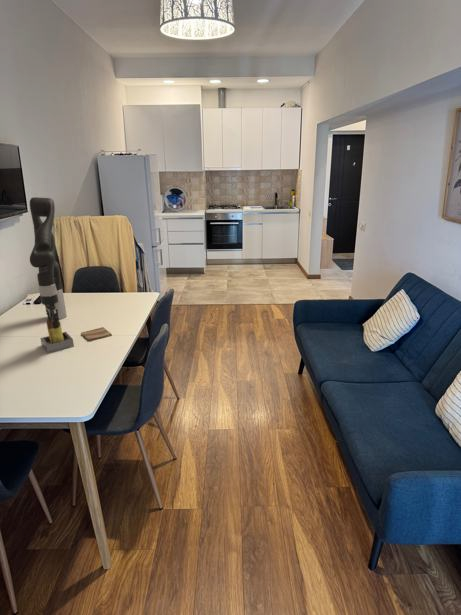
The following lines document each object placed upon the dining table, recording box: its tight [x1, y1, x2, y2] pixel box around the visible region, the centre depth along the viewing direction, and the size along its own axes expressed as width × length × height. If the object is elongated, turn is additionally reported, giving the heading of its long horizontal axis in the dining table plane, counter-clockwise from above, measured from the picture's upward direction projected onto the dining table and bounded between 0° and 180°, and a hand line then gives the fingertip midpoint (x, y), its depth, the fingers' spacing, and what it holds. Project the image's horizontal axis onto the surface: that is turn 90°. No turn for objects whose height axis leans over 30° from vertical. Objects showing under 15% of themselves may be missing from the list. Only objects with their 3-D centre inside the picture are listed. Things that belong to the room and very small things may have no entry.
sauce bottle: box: [45, 308, 64, 343], centre depth 201 cm, size 6×6×20 cm
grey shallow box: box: [40, 331, 75, 354], centre depth 204 cm, size 11×12×4 cm
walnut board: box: [80, 326, 113, 342], centre depth 217 cm, size 12×12×1 cm
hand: (54, 325), depth 201 cm, fingers closed on sauce bottle, 6 cm apart
